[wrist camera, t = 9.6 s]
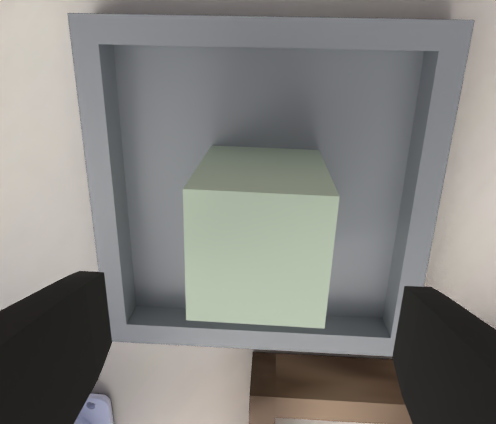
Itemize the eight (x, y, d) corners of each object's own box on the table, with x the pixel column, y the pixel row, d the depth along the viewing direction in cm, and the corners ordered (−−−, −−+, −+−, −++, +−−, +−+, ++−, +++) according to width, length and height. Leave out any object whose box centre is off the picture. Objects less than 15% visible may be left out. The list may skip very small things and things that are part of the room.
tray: (121, 316, 22) (107, 341, 20) (90, 17, 17) (67, 13, 15) (397, 330, 21) (410, 357, 19) (451, 23, 16) (474, 20, 14)
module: (211, 242, 20) (186, 320, 14) (211, 145, 18) (182, 189, 12) (309, 247, 19) (324, 328, 14) (318, 149, 18) (339, 196, 12)
